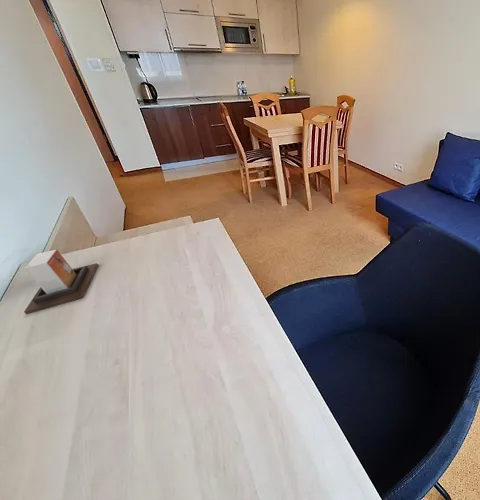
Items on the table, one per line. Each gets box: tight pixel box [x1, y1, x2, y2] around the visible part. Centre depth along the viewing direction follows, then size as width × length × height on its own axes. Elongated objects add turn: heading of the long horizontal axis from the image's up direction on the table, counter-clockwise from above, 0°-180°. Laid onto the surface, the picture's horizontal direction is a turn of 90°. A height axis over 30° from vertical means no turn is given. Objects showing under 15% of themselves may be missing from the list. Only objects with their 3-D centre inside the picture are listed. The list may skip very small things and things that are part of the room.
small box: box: [23, 249, 77, 294], centre depth 91 cm, size 8×6×10 cm
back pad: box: [23, 262, 100, 315], centre depth 94 cm, size 14×18×2 cm
